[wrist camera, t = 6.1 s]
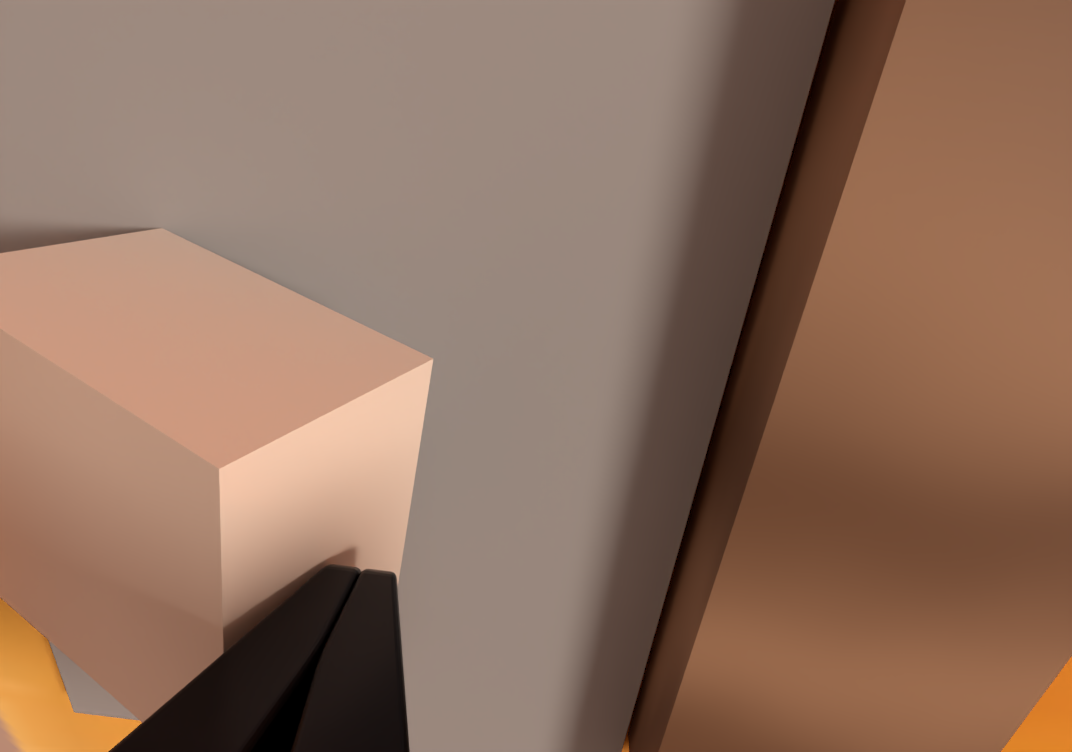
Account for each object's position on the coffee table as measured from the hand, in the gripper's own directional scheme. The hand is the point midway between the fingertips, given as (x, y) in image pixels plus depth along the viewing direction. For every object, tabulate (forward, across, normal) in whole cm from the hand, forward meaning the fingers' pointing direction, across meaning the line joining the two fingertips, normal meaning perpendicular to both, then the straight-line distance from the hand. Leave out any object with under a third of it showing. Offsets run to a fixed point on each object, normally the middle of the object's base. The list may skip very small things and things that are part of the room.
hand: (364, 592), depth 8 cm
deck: (+4, -8, 0) cm, 9 cm away
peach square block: (+2, +2, 0) cm, 3 cm away
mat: (+4, +2, 0) cm, 4 cm away
